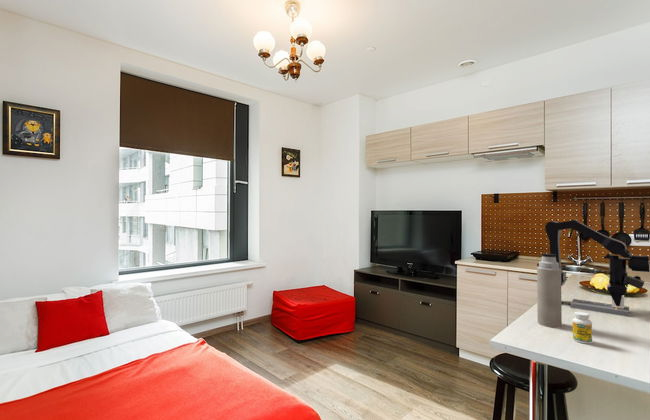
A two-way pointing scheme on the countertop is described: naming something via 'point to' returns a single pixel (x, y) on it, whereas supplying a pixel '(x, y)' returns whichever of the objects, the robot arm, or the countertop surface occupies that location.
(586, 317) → the supplement bottle
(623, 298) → the fader cap
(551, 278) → the thermos bottle
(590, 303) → the console board
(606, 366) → the countertop surface
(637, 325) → the countertop surface
